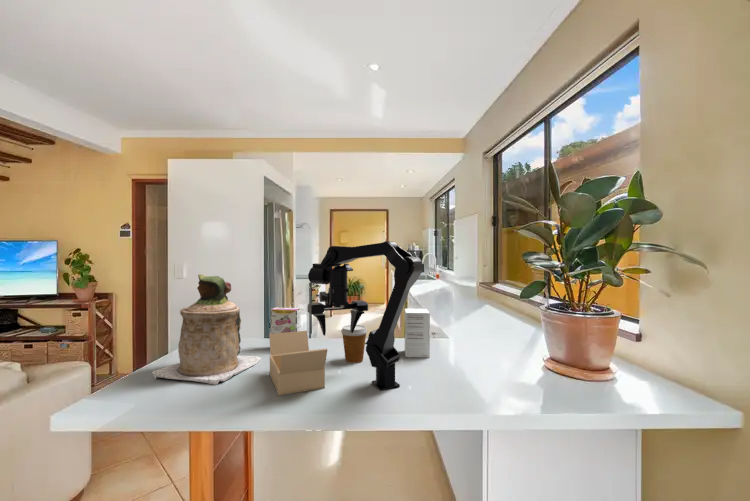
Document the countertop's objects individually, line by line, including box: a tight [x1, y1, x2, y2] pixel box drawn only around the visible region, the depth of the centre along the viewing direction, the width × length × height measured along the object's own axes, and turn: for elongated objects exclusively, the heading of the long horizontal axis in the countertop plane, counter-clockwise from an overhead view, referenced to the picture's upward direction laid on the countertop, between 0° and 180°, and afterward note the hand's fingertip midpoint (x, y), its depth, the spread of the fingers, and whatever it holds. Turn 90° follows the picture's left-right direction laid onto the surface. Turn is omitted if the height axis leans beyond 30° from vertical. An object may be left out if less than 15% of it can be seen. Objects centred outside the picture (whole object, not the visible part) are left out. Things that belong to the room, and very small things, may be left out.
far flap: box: [269, 330, 310, 357], centre depth 117 cm, size 7×12×1 cm
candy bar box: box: [270, 306, 302, 334], centre depth 143 cm, size 11×5×16 cm, turn 84°
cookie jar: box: [151, 273, 262, 386], centre depth 118 cm, size 25×25×32 cm
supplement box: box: [404, 308, 431, 359], centre depth 136 cm, size 10×9×17 cm
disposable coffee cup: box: [340, 324, 368, 364], centre depth 128 cm, size 10×10×12 cm
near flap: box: [280, 348, 328, 375], centre depth 97 cm, size 7×12×1 cm
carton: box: [269, 354, 326, 396], centre depth 107 cm, size 18×13×6 cm
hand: (338, 334), depth 113 cm, fingers open, 9 cm apart
